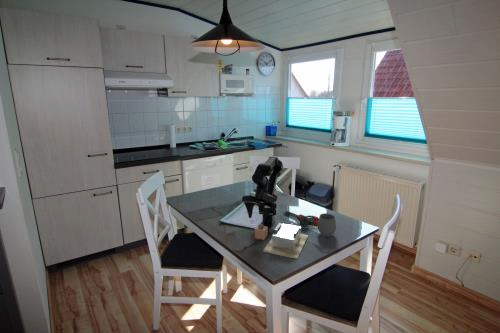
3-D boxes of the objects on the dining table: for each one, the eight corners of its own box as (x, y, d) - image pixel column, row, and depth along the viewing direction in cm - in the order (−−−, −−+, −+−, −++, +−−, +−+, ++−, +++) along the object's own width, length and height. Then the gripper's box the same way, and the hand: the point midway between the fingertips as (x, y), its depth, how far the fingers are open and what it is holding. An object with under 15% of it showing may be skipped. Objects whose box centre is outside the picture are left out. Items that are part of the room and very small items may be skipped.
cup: (321, 228, 158) (322, 211, 156) (338, 233, 152) (339, 215, 150) (313, 235, 151) (314, 217, 149) (330, 240, 145) (332, 222, 143)
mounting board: (277, 231, 156) (277, 229, 155) (308, 236, 149) (308, 235, 149) (263, 251, 136) (263, 250, 136) (297, 259, 130) (297, 257, 130)
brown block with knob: (258, 233, 153) (258, 222, 151) (267, 235, 151) (267, 223, 149) (254, 238, 149) (254, 226, 147) (264, 240, 147) (264, 227, 145)
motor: (282, 231, 153) (282, 218, 151) (302, 235, 149) (302, 221, 148) (271, 247, 138) (272, 232, 136) (293, 251, 134) (294, 236, 132)
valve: (329, 228, 163) (311, 232, 154) (296, 214, 184) (278, 217, 175) (331, 217, 162) (312, 220, 153) (297, 205, 183) (279, 207, 174)
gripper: (259, 182, 135) (253, 217, 131) (286, 192, 146) (282, 223, 142) (243, 184, 143) (238, 216, 139) (270, 192, 155) (266, 222, 151)
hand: (257, 219), depth 143 cm, fingers open, 9 cm apart
